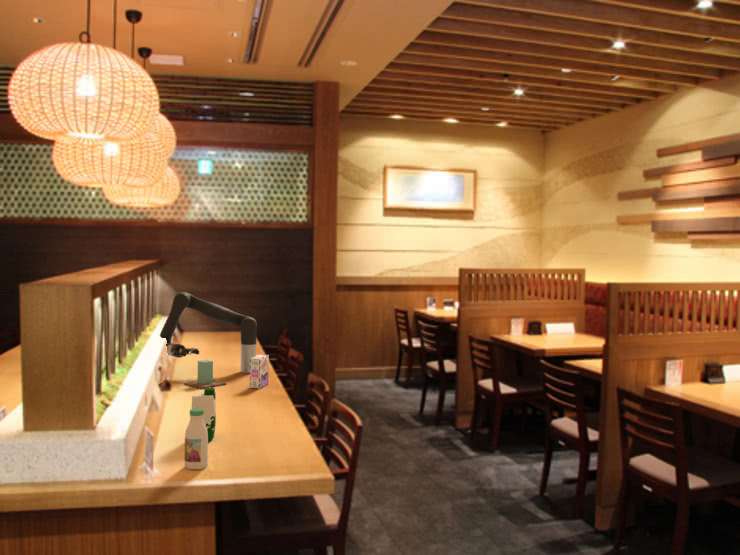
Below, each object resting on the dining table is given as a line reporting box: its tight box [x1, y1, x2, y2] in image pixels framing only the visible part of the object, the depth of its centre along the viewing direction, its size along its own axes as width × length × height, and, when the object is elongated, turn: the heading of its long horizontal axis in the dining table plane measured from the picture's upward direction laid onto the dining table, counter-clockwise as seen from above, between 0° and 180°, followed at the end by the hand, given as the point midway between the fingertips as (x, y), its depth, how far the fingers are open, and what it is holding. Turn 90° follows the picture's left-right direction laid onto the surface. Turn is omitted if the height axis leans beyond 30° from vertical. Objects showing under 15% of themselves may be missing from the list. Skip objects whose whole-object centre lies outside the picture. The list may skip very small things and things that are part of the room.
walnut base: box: [183, 379, 227, 390], centre depth 346 cm, size 16×16×8 cm
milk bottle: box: [184, 408, 209, 470], centre depth 218 cm, size 8×8×20 cm
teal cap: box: [197, 359, 214, 384], centre depth 346 cm, size 6×6×12 cm
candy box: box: [249, 354, 270, 390], centre depth 345 cm, size 14×6×16 cm, turn 168°
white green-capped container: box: [191, 387, 217, 442], centre depth 249 cm, size 9×9×20 cm
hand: (192, 353), depth 357 cm, fingers open, 8 cm apart
